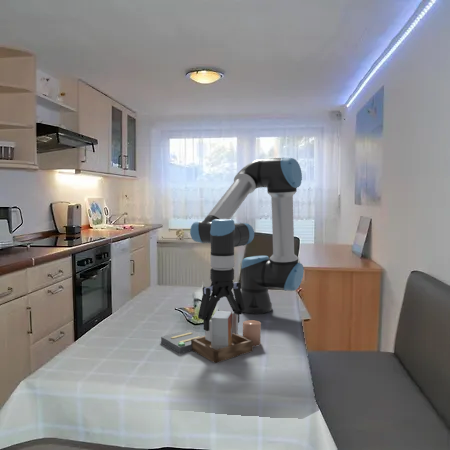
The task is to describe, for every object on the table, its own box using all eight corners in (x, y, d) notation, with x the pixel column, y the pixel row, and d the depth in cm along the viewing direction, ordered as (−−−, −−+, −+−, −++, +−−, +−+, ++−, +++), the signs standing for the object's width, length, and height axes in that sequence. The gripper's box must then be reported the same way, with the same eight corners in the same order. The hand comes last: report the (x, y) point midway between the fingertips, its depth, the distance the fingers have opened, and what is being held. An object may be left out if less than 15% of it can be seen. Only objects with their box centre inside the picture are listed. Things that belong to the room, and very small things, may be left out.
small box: (228, 351, 127) (228, 318, 126) (210, 350, 128) (210, 317, 127) (232, 342, 135) (232, 311, 134) (216, 340, 136) (216, 310, 135)
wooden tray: (227, 339, 141) (227, 329, 141) (252, 351, 131) (252, 340, 130) (191, 349, 132) (191, 339, 131) (215, 363, 121) (215, 351, 121)
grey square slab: (190, 334, 145) (190, 327, 145) (210, 344, 136) (210, 337, 136) (161, 342, 138) (161, 334, 138) (180, 353, 128) (180, 345, 128)
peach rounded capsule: (252, 338, 142) (252, 319, 141) (264, 343, 137) (264, 323, 137) (239, 342, 138) (239, 322, 138) (250, 347, 134) (251, 327, 133)
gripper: (241, 262, 139) (240, 326, 141) (186, 270, 125) (186, 340, 127) (256, 265, 133) (255, 332, 135) (200, 274, 119) (200, 348, 121)
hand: (221, 336), depth 131 cm, fingers open, 10 cm apart
